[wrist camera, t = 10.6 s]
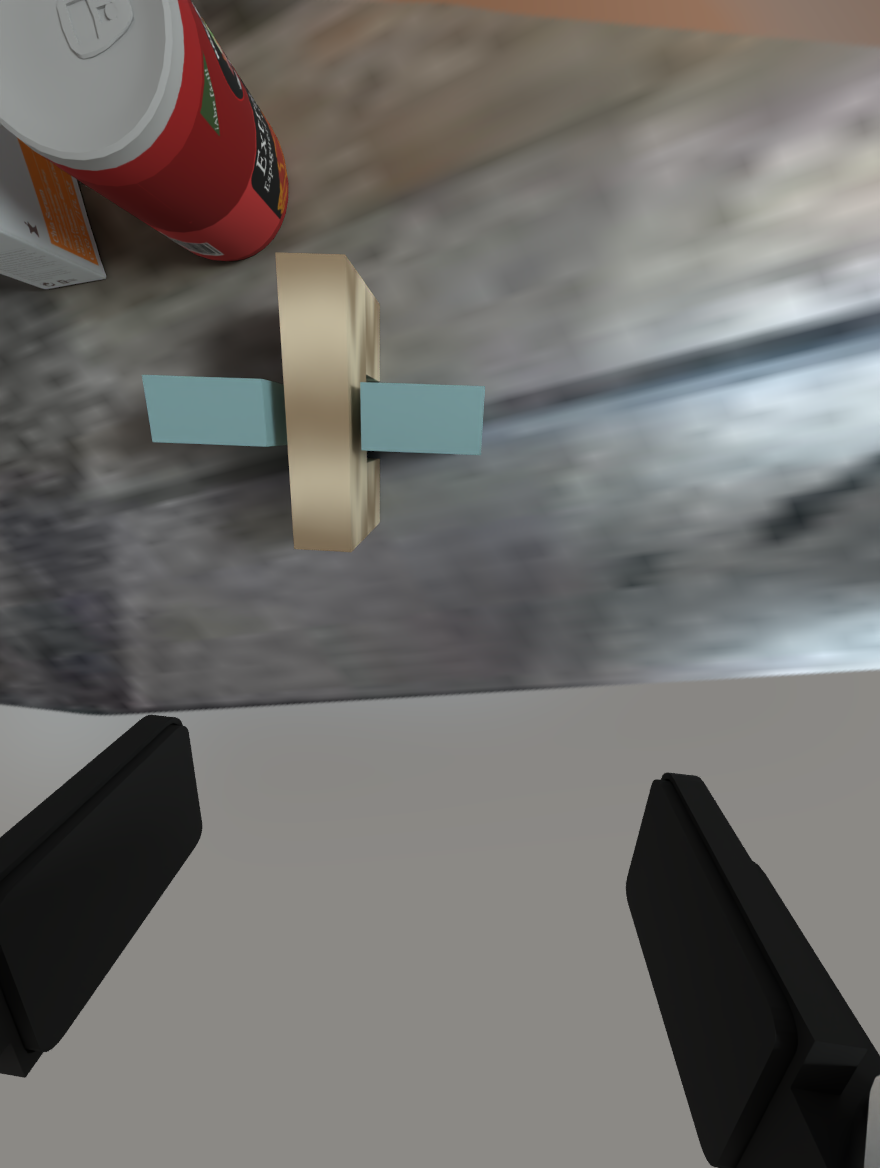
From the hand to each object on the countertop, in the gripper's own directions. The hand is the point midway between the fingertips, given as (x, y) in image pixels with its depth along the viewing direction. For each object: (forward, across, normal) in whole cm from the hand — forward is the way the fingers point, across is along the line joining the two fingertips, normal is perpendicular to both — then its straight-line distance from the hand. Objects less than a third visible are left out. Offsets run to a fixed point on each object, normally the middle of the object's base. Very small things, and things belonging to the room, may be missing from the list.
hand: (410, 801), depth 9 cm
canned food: (+23, +15, -19) cm, 33 cm away
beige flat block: (+23, +7, -7) cm, 25 cm away
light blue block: (+23, +8, -7) cm, 25 cm away
